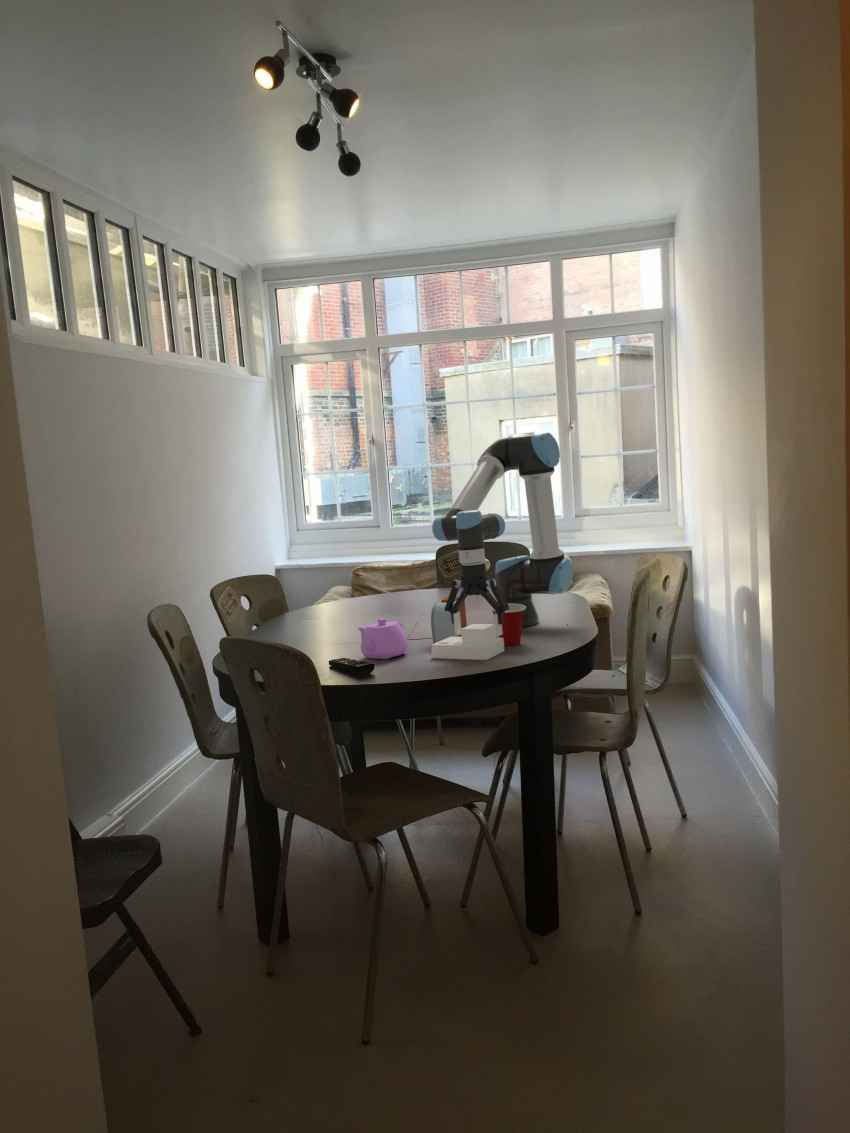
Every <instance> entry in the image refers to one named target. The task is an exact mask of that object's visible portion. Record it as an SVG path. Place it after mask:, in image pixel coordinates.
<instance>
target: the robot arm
mask: <svg viewBox="0 0 850 1133" xmlns="http://www.w3.org/2000/svg"><path fill="white" fill-rule="evenodd" d="M560 457H561V452H560V446H559V443H558V442H557V440H556V437H554V435H553V434H552V433H550V432H548V431H532V432H525V433H516V434H507V435H504V436H502V437H500V438H498V439H497V440H496V441H495V440H494V442H493V443H491V444H490V445H489V446H488V447H487V448H486V449H485V450H484V451H483V452H482V454H481V455H480V456H479V458H478V460H477V464H476V466H477V467H476V469H475V470H474V472H473V473H472V475H471V476H470V478H469V480H468V481H467V483H466V484H465V486H464V487H463V489H462V490H461V492H460V494H459V495H458V497H457V498H456V499H455V501H454V503H453V504H452V506H451V507H450V509H449V511H447V513H446V515H445V516H444V515H442V516H438V517H436V518H435V519H434V520H433V522H432V527H431V528H432V531H431V532H432V534H433V537H434V538H435V539H436V540H437V541H441V542H442V541H444V542H450V541H451V542H453V541H455V542H456V541H457V545H458V558H459V559H458V560H459V563H460V564H461V565H459V570H460V571H459V572H460V577H461V580H459V579H454V580H452V581H451V589H450V592H449V595H448V596H447V597H448V600H447V603H446V606H445V611H448V612H450V613H451V619H452V624H454V627H455V635H459V634H461V619H460V612H457V611H458V609H459V608H460V606H461V605H462V603H463V602H464V600H466V598H467V597H468V596H473V595H474V596H481V597H482V598H484V600H486V602H487V603H488V604H489V605H490V607H492V608H493V609H494V610H495V611H496V612H497V613H496V614H493V617H494V616H495V618H494V624H495V628H496V637H499V636H500V635H502V634H503V633H502V624H503V623H504V614H503V613H504V611H507V610H509V606H508V604H521V605H524V606H526V609H525V611H524V614H523V621H522V628H523V627H530V626H533V625H537V624H539V622H540V620H539V614H538V612H537V609H536V607H535V604H534V602H533V596H532V595H535V594H536V595H553V596H554V595H558V594H564V593H566V592H567V590H569V588H570V586H571V584H572V580H573V573H574V572H573V571H574V569H573V563H572V562H571V560H570V559H567V558H565V553H564V551H563V549H562V550H561V549H560V546H559V539H558V529H557V522H556V520H557V519H556V512H555V505H554V494H553V487H552V479H551V478H552V475H553V474H554V473H555V467H556V466H557V465H558V464H559V463H560ZM513 470H514V471H516V470H517V471H518V476H519V477H520V478H521V479H523V480H524V481H523V482H524V486H525V487H524V489H525V495H526V496H525V497H526V503H527V504H526V505H527V512H528V513H527V514H528V519H529V521H528V522H529V528H530V529H529V530H530V537H531V546H532V551H531V553H530V554H529V555H527V554H525V555H519V556H518V555H517V556H513V557H508V558H504V559H499V560H497V562H496V563H495V578H493V579H489V580H488V579H487V568H486V566H487V565H486V563H485V562H486V556H485V553H486V552H485V542H484V541H486V540H495V539H497V538H499V537H501V536H502V535H503V534H504V532H505V529H506V523H505V520H504V518H503V517H502V516H501V515H500V514H499V513H487V514H482V512H481V511H480V510H479V508H480V507H481V506H482V504H483V502H484V500H485V499H486V497H487V496H488V495H489V493H490V491H491V489H492V487H493V486H494V485H495V483H496V482H497V480H499V479H501V478H502V477H503V476H504V475H505V473H507V472H509V471H513ZM460 587H462V591H461V592H460V595H459V596H458V593H459V589H460ZM487 587H489V588H490V590H491V592H492V594H491V592H490V590H489V589H488V588H487ZM456 597H459V598H458V599H457V601H456V602H455V604H454V601H455V598H456ZM453 604H454V605H453Z"/></svg>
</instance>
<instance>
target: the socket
mask: <svg viewBox="0 0 850 1133" xmlns="http://www.w3.org/2000/svg"><path fill="white" fill-rule="evenodd" d="M430 647H431V658H432V659H449V660H450V659H452V660H472V661H473V660H476V661H477V660H479V661H480V660H481V661H487V660H489V659H491V658H494V657H495V656H497V655H499V654H501V653H503V652H505V646H504V639H503V638H500V637H496V640H494V641H491V642H489V643H487V644H485V645H482V644H462V637H449V638H446V639H444V640H442V641H439V642H437V643H434V644H433V643H431V645H430Z"/></svg>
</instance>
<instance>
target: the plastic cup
mask: <svg viewBox="0 0 850 1133" xmlns="http://www.w3.org/2000/svg"><path fill="white" fill-rule="evenodd" d="M508 606H509V610H507V611H504V613H503V614H504V623H503V624H502V633H503V634H502V635H500V636H498V638H503V639H504V647H512V646H518V645H520V644H521V641H522V639H521V638H522V632H523V630H522V629H523V627H522V621H523V614H524V611H525V609H526V606H524V605H521V604H508ZM490 610H491V611H492V615H493V618H494V619H495V616H494V614H496V613H497V612H496V611H495V610H494V609H493V608H492V606H490Z"/></svg>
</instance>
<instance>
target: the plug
mask: <svg viewBox="0 0 850 1133" xmlns="http://www.w3.org/2000/svg"><path fill="white" fill-rule="evenodd" d="M461 635H462V644H482V645H485V644H487V643H489V642H491V641H494V640H496V638H497V636H496V628H495V623H493V624H492V623H491V624H490V623H472V624H470V625H467V627H464V628H462V629H461Z"/></svg>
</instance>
